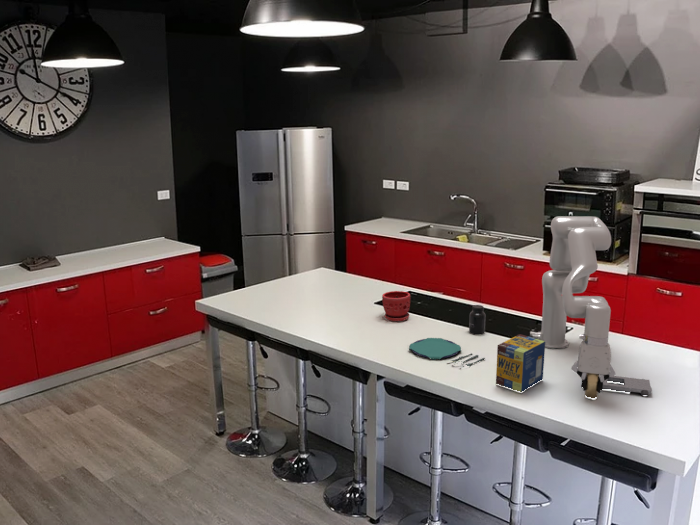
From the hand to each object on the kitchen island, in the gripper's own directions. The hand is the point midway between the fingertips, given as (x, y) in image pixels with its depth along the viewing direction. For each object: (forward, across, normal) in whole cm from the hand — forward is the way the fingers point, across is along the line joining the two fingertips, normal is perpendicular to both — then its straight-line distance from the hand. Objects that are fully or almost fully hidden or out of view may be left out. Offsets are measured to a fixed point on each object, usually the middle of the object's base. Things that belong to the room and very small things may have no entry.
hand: (591, 389), depth 212 cm
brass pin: (+3, 0, 0) cm, 3 cm away
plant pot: (+3, -86, +58) cm, 104 cm away
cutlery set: (+4, -55, +22) cm, 60 cm away
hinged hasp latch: (+3, +8, +11) cm, 14 cm away
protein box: (+3, -24, +4) cm, 25 cm away
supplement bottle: (+3, -47, +51) cm, 69 cm away
